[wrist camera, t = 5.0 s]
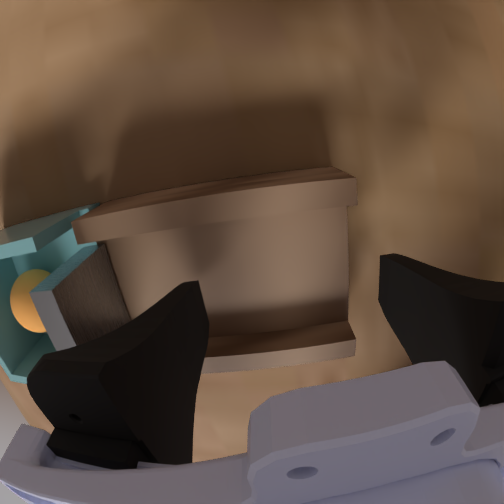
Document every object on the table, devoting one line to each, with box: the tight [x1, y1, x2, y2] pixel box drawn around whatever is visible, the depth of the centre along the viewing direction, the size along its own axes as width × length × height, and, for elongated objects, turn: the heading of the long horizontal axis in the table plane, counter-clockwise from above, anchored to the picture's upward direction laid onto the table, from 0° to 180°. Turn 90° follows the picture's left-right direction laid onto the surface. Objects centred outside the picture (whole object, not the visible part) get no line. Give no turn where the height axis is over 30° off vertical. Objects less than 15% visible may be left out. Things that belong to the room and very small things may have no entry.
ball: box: [10, 269, 51, 333], centre depth 14 cm, size 4×4×4 cm
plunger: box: [29, 243, 130, 351], centre depth 11 cm, size 1×5×4 cm, turn 8°
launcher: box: [71, 167, 358, 374], centre depth 13 cm, size 11×8×4 cm
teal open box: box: [0, 203, 100, 384], centre depth 13 cm, size 8×8×5 cm
